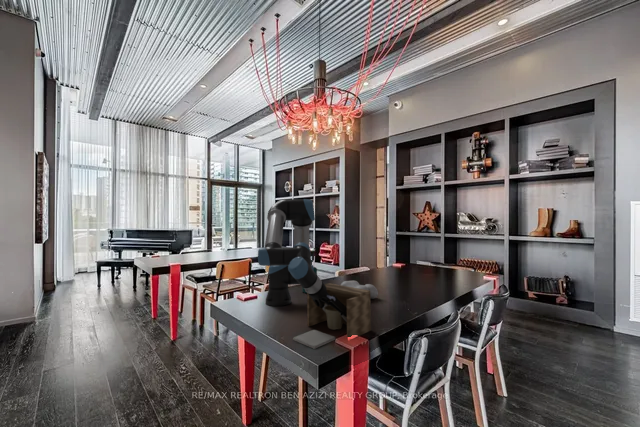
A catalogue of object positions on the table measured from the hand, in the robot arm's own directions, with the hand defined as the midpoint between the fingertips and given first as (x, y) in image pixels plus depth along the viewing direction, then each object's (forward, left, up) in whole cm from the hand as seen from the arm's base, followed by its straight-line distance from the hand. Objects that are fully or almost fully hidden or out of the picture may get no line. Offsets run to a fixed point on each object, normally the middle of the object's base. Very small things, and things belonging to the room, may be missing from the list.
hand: (339, 316), depth 128 cm
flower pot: (-2, -2, -4) cm, 5 cm away
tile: (-13, -12, -5) cm, 18 cm away
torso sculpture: (+21, +56, -5) cm, 60 cm away
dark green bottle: (-9, +70, -5) cm, 71 cm away
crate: (-1, -1, -5) cm, 5 cm away
